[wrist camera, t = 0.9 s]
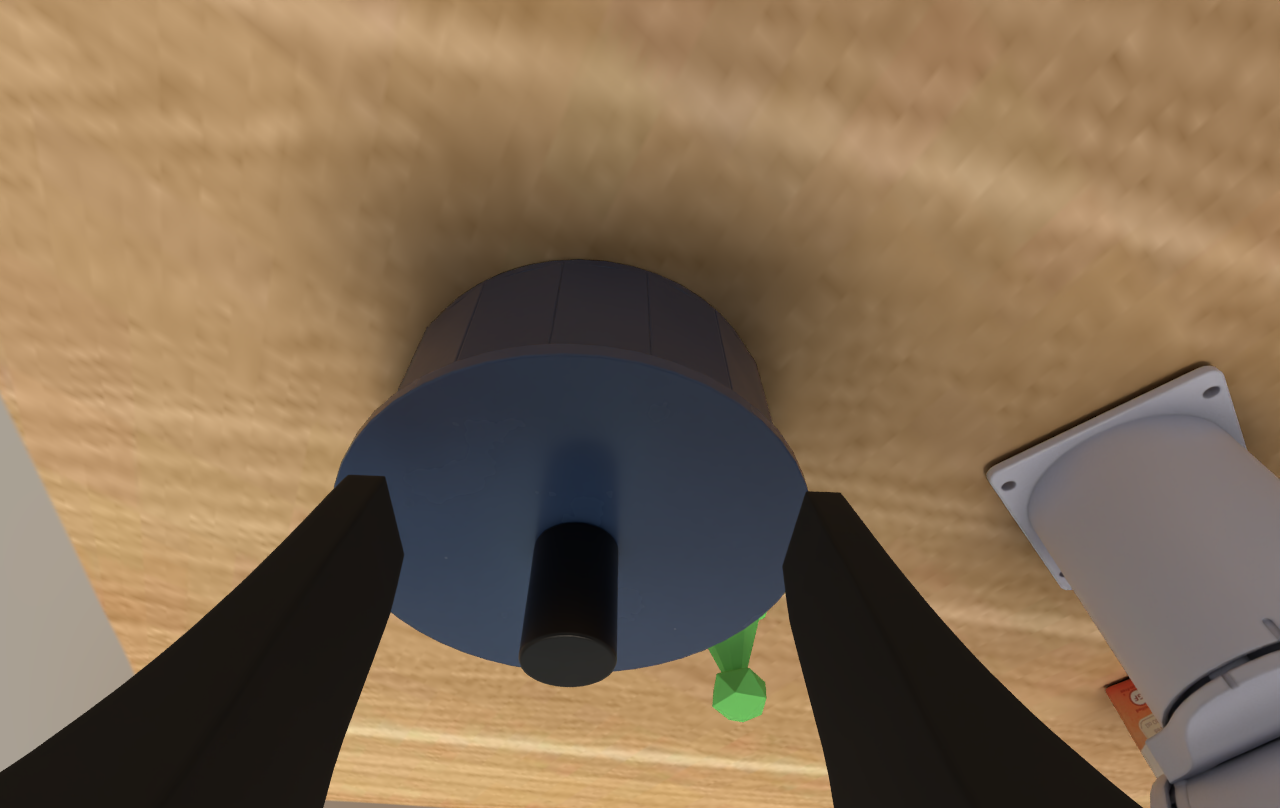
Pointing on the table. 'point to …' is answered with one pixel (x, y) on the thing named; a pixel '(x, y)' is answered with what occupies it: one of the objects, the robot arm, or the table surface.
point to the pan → (590, 321)
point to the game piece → (738, 678)
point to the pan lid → (581, 508)
